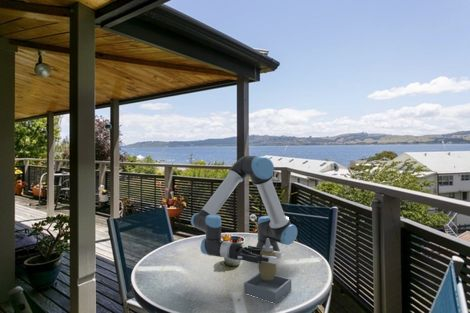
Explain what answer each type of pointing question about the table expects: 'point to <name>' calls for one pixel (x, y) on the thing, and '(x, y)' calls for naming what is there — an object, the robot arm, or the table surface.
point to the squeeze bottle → (265, 268)
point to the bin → (268, 288)
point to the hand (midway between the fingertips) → (278, 257)
